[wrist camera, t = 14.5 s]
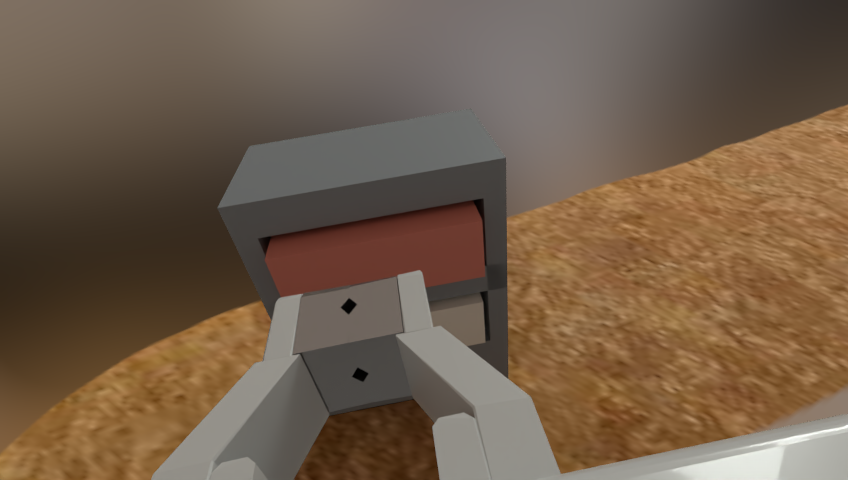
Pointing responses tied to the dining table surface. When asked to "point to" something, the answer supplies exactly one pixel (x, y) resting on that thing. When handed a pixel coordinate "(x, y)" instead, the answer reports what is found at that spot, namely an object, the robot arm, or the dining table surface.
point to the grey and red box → (377, 200)
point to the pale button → (460, 317)
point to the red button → (381, 250)
